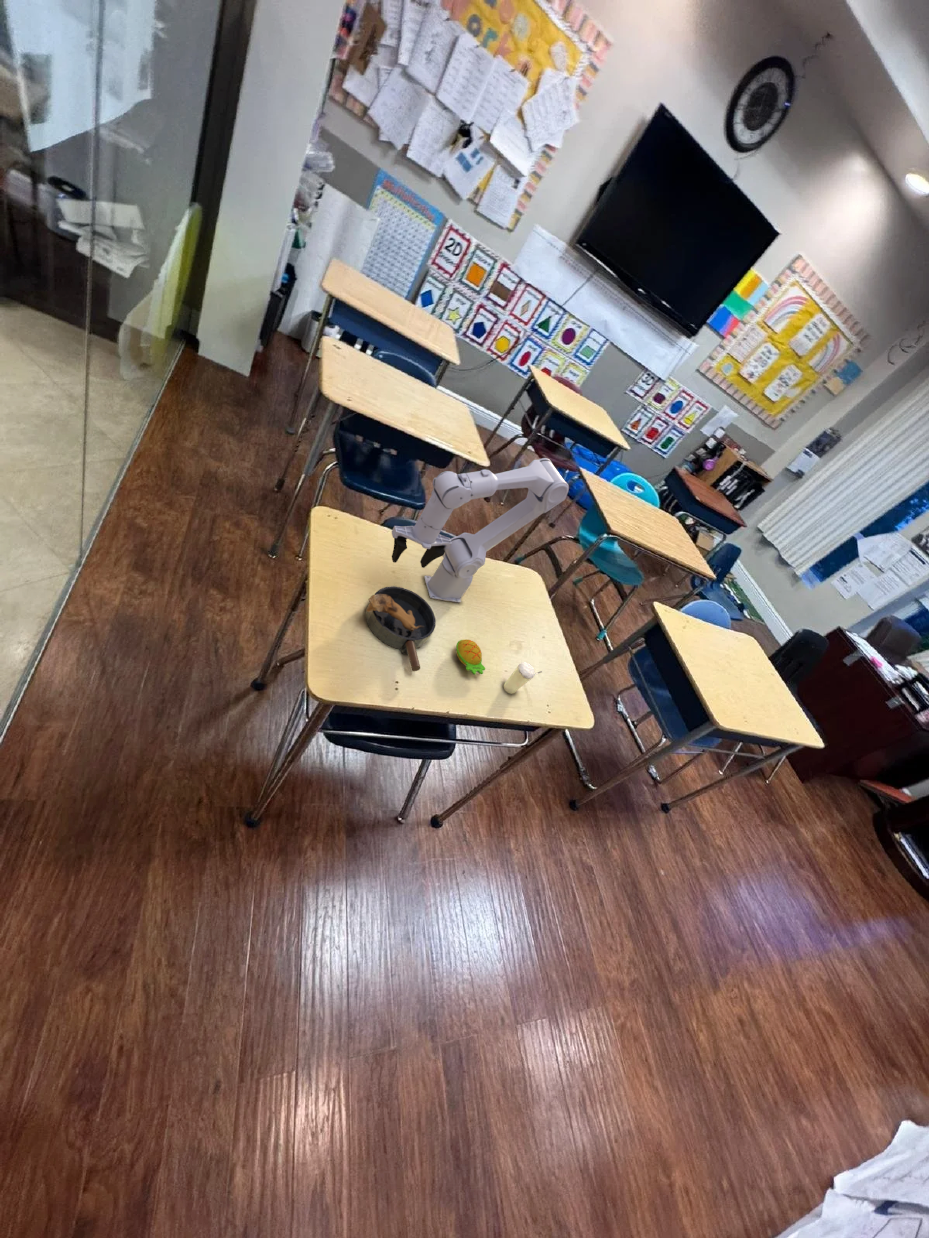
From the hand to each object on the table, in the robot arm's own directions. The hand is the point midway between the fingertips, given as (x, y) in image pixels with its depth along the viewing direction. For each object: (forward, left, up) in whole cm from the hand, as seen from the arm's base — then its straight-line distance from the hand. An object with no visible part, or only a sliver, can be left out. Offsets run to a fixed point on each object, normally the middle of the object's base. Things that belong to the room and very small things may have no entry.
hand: (408, 562), depth 125 cm
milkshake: (-26, +29, -10) cm, 40 cm away
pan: (+1, +12, -9) cm, 15 cm away
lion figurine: (+2, +10, -7) cm, 13 cm away
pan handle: (+1, +23, -9) cm, 25 cm away
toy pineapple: (-15, +22, -10) cm, 28 cm away
